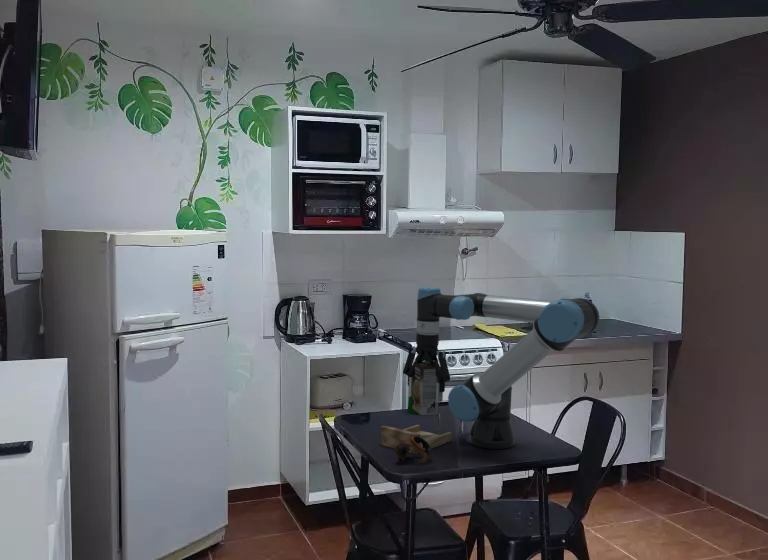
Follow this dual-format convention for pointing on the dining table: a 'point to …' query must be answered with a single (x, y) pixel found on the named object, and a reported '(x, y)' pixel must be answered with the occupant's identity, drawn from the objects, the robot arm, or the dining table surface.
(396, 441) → the holder
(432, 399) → the coffee box
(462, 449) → the dining table surface
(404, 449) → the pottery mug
